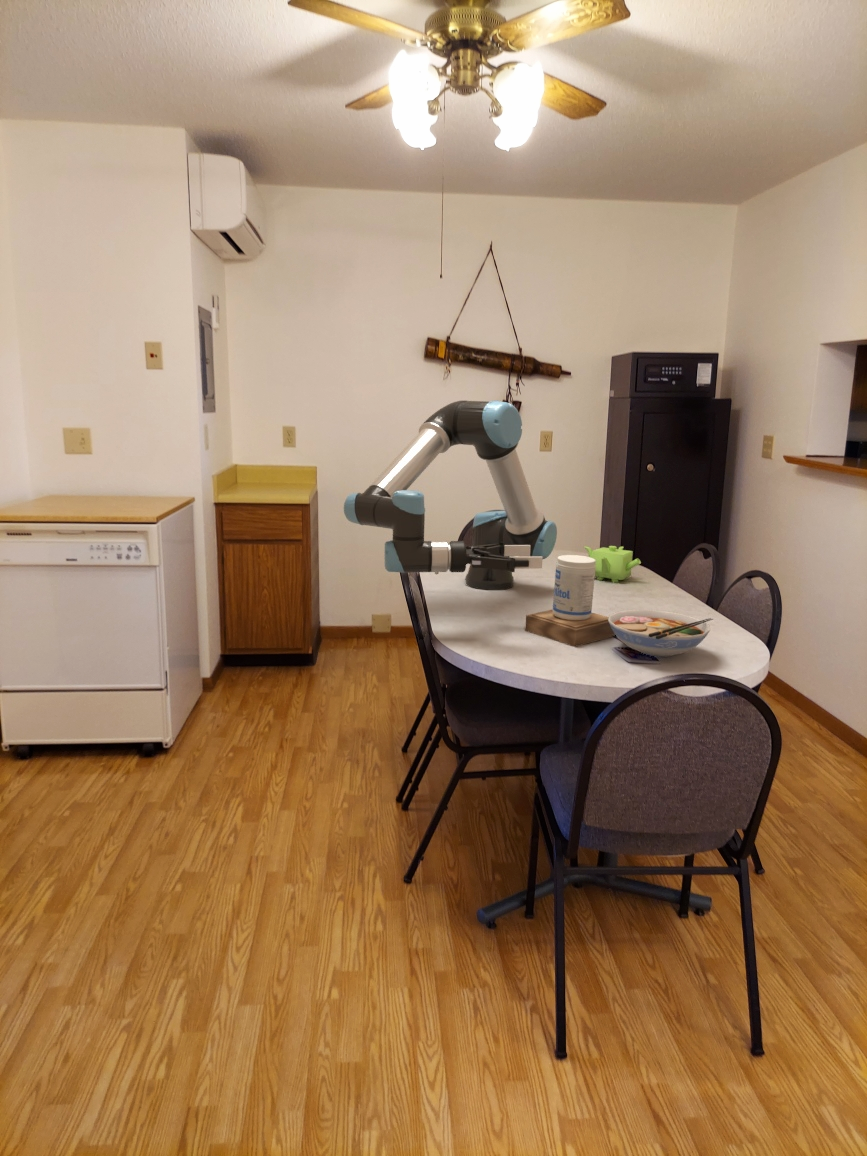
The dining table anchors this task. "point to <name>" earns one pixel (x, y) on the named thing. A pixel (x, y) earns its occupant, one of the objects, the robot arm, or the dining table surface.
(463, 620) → the dining table surface
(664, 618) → the ramen bowl
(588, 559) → the supplement tub
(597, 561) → the kettle
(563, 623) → the stand
